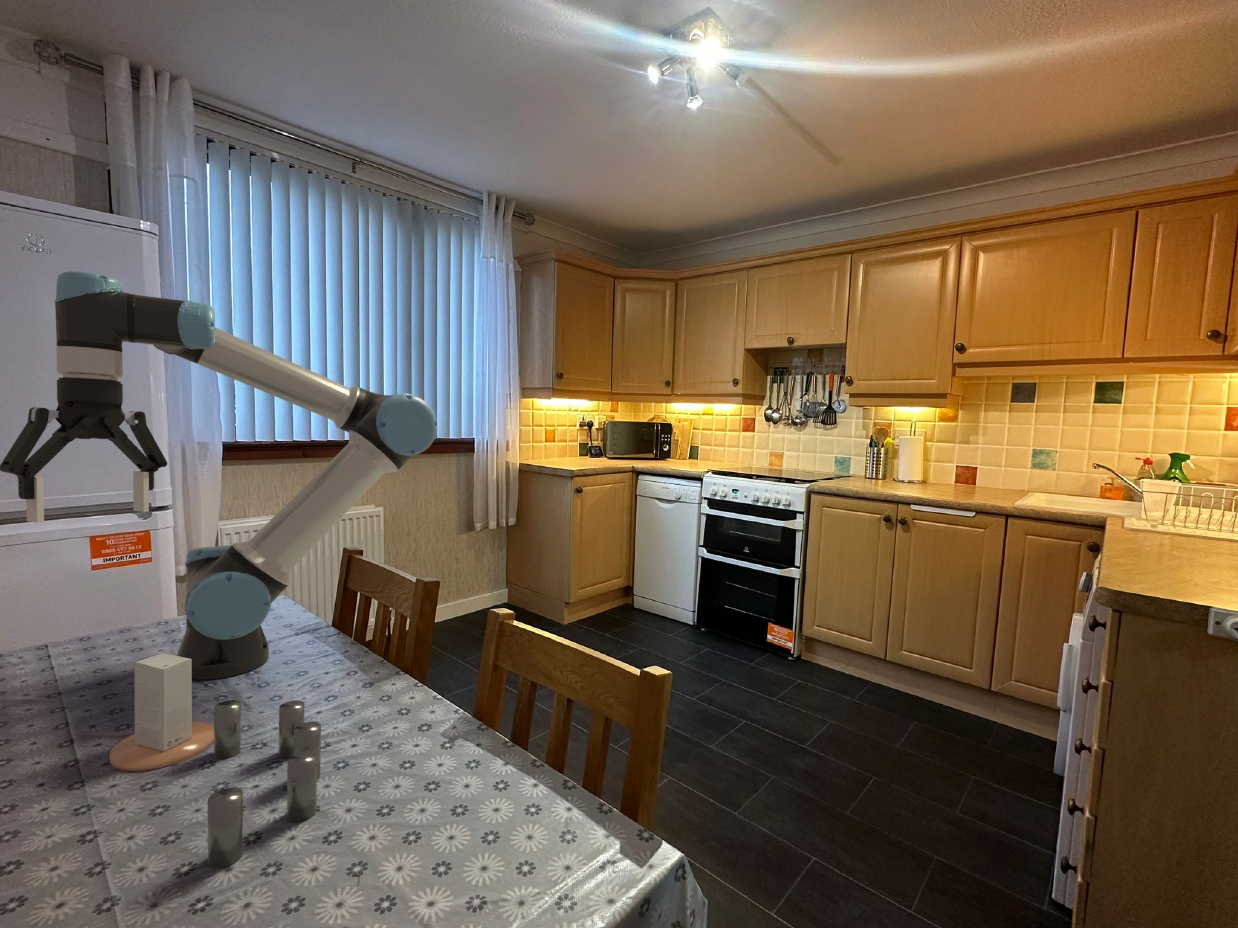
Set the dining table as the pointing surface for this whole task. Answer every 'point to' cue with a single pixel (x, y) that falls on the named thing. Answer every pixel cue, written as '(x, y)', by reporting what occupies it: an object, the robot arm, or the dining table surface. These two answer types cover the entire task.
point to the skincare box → (163, 701)
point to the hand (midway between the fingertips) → (91, 516)
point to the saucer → (147, 758)
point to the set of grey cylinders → (227, 804)
